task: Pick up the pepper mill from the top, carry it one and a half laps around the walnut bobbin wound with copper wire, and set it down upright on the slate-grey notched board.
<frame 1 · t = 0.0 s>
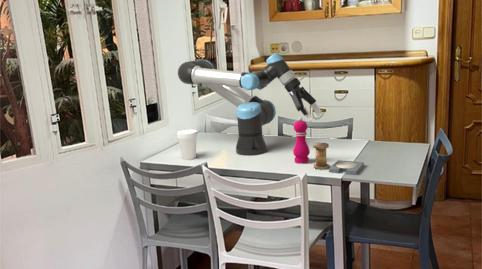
hand: (315, 117, 222), 15 cm above the table, tool tilted 35°, fingers open, 13 cm apart
foam cup: (189, 158, 222), on the table
notched board: (346, 168, 190), on the table
pepper mill: (301, 162, 205), on the table
bobbin: (321, 167, 194), on the table
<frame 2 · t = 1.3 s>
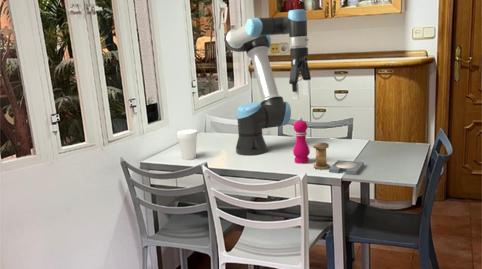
hand: (301, 97, 200), 28 cm above the table, tool pointing down, fingers open, 13 cm apart
nothing on the table moved.
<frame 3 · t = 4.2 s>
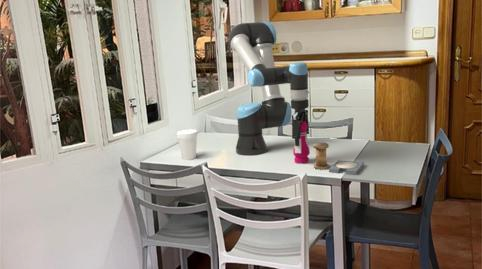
hand: (301, 150, 204), 5 cm above the table, tool pointing down, fingers closed on pepper mill, 7 cm apart
pepper mill: (301, 162, 205), on the table, touching gripper
everything else where it was.
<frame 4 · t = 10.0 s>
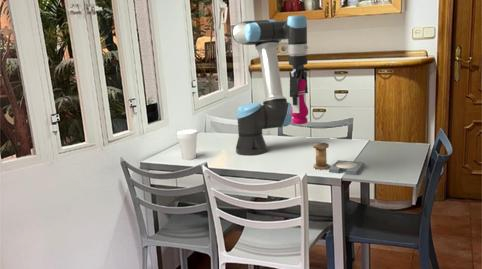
hand: (299, 110, 192), 24 cm above the table, tool pointing down, fingers closed on pepper mill, 7 cm apart
pepper mill: (299, 123, 193), point 19 cm above the table, touching gripper
everything else where it was.
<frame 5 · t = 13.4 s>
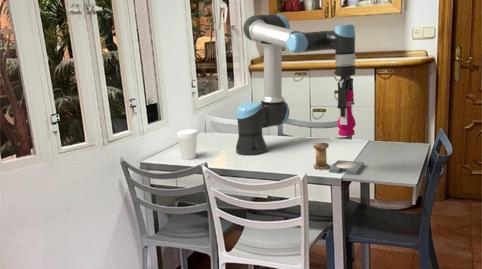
hand: (346, 122, 186), 20 cm above the table, tool pointing down, fingers closed on pepper mill, 7 cm apart
pepper mill: (346, 135, 187), point 14 cm above the table, touching gripper
everything else where it was.
when the fingers open (8 cm above the table, at t = 15.8 s): pepper mill drops 1 cm, resting on notched board.
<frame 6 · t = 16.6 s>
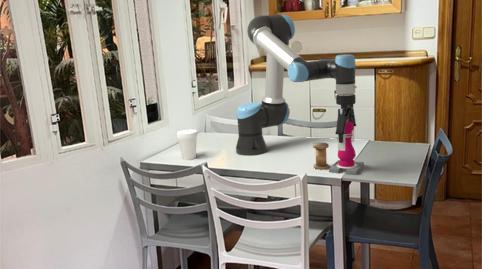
hand: (346, 146, 188), 10 cm above the table, tool pointing down, fingers open, 13 cm apart
pepper mill: (346, 165, 190), point 2 cm above the table, touching notched board
everything else where it was.
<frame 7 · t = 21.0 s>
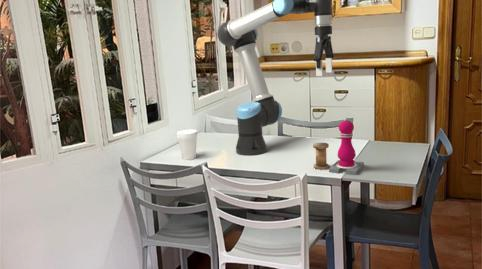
hand: (324, 74, 207), 37 cm above the table, tool pointing down, fingers open, 13 cm apart
nothing on the table moved.
at the end: pepper mill inside the target area on the notched board (0.0 cm from its centre), point 1.5 cm above the notched board's base; pepper mill tilted 0°; the gripper is holding nothing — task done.
